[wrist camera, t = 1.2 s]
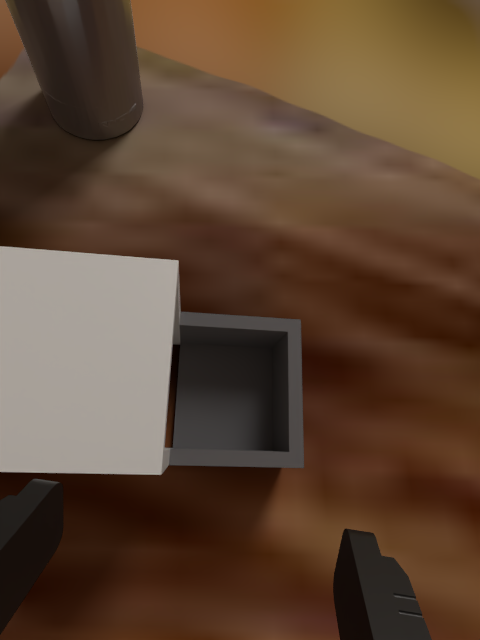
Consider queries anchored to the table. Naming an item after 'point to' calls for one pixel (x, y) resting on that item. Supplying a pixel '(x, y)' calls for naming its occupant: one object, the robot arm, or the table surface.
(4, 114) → the table surface
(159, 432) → the tunnel
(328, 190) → the table surface
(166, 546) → the table surface
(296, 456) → the grey open box
